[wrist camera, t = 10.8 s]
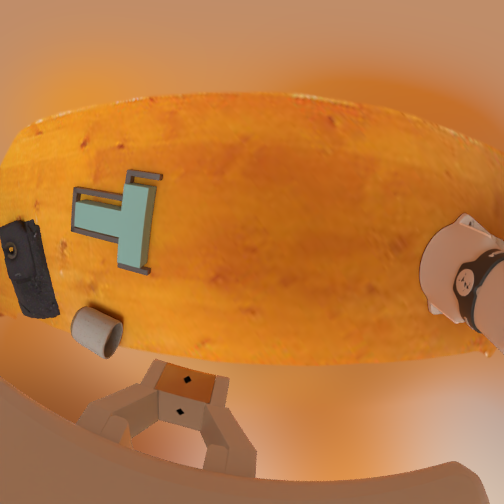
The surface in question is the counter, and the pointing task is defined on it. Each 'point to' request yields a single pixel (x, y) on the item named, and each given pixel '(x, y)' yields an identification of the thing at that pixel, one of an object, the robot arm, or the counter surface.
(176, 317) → the counter surface
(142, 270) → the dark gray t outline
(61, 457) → the robot arm
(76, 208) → the teal T block
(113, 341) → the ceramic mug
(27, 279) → the dark slate chunk
